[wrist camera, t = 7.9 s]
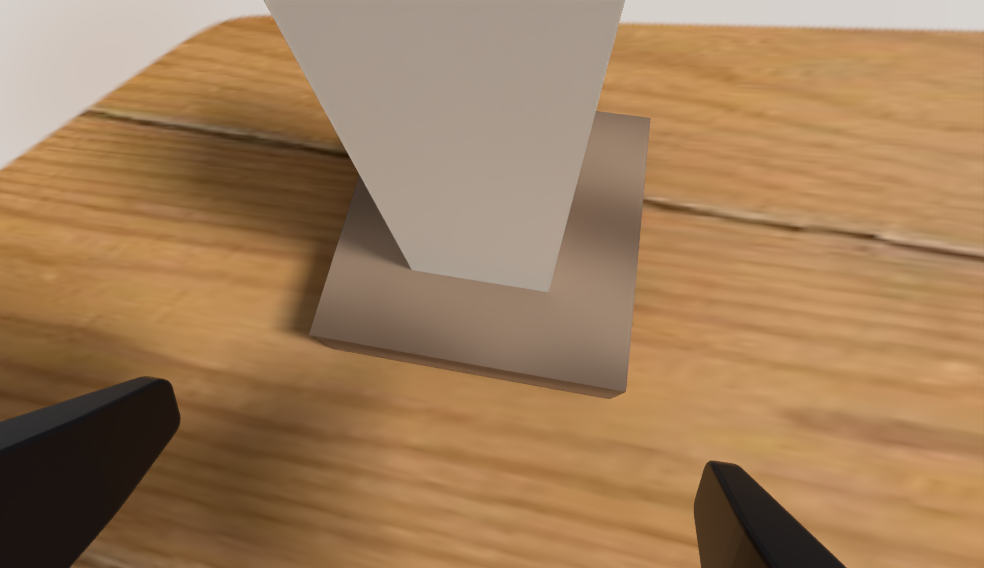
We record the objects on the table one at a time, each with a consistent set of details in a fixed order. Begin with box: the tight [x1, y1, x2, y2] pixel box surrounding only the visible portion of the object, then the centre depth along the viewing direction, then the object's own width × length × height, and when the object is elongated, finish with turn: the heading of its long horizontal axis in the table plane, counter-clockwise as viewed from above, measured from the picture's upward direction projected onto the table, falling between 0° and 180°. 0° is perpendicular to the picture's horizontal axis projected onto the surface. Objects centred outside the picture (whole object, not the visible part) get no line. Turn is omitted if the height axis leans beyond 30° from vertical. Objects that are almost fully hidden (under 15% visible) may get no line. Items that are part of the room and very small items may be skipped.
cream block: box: [264, 0, 625, 292], centre depth 11 cm, size 5×5×13 cm
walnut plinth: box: [309, 111, 650, 399], centre depth 19 cm, size 11×11×2 cm
